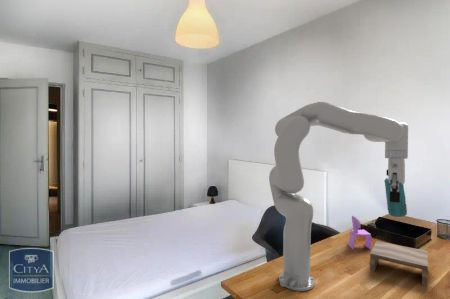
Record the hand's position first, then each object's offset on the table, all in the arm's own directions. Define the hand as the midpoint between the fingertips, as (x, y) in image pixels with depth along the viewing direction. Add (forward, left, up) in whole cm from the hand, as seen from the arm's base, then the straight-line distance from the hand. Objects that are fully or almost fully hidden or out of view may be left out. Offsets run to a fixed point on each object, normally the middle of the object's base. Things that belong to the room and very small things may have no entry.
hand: (395, 199), depth 105 cm
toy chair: (+16, +15, -28) cm, 36 cm away
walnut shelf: (+1, -2, -28) cm, 28 cm away
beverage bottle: (+2, -1, -7) cm, 8 cm away
